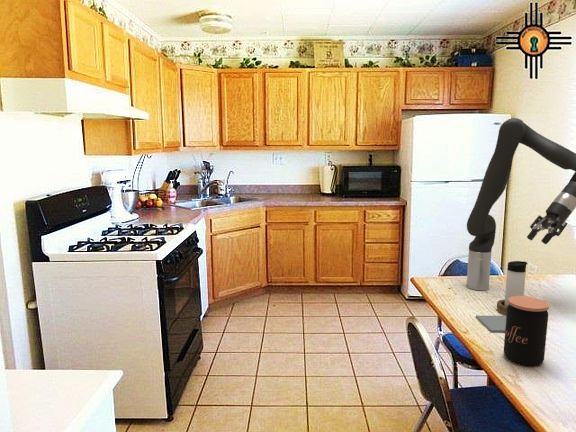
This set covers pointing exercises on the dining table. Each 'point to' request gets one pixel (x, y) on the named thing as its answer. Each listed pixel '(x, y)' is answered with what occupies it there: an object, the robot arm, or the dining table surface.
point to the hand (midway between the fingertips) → (536, 240)
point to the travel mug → (515, 280)
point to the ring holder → (501, 307)
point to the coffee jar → (526, 330)
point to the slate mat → (493, 323)
